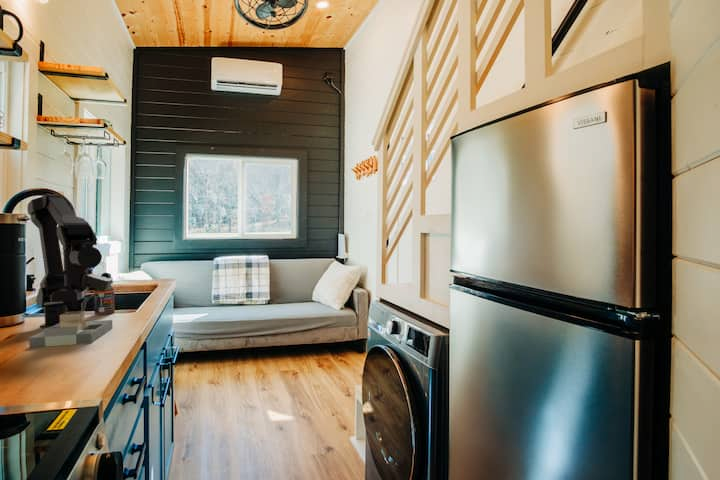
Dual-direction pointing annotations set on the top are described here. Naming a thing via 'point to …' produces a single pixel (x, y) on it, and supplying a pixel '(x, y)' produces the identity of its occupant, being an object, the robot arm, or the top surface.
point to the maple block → (73, 319)
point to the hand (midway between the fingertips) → (79, 321)
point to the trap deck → (70, 334)
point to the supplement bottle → (104, 302)
